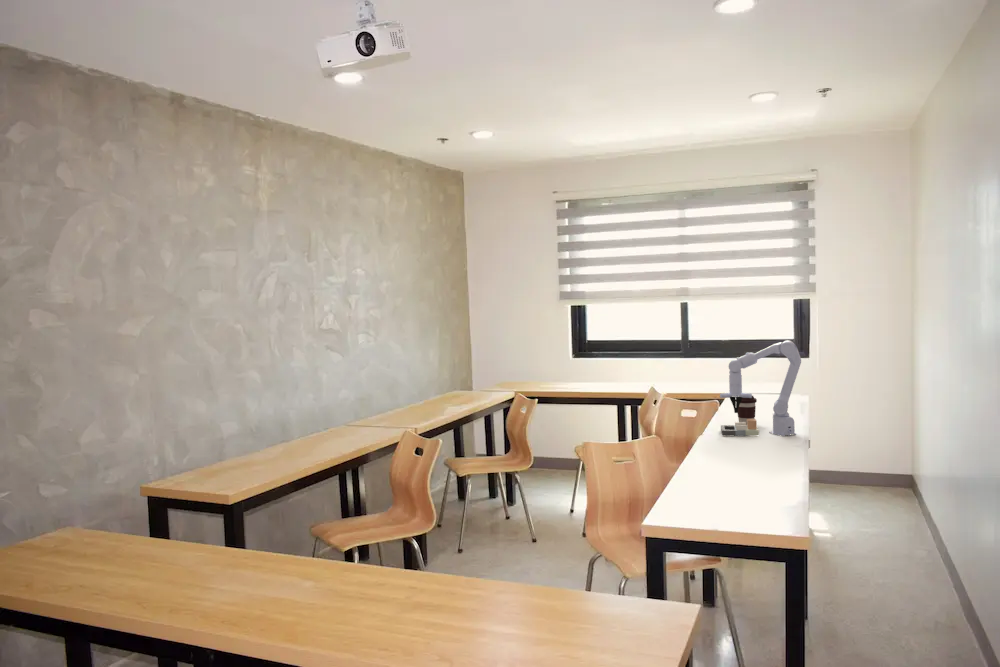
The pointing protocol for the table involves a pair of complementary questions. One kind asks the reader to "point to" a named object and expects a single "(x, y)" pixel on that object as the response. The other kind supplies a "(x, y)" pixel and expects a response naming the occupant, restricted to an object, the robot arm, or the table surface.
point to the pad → (752, 431)
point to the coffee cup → (747, 409)
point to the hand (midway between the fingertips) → (736, 412)
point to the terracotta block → (751, 424)
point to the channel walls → (740, 425)
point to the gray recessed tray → (732, 430)
